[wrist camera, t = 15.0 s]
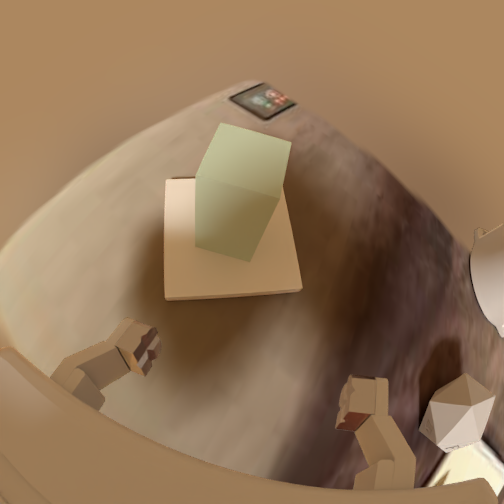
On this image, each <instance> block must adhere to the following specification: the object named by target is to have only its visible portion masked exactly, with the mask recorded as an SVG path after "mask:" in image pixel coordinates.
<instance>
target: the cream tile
mask: <svg viewBox="0 0 504 504" xmlns="http://www.w3.org/2000/svg"><path fill="white" fill-rule="evenodd" d="M195 183H196V178H194V179H167V180H166V190H165V215H164V289H165V299H166V301H174V300H195V299H213V298H229V297H243V296H256V295H269V294H280V293H291V292H299V291H300V290H301V289H303V286H302V281H301V275H300V270H299V264H298V259H297V254H296V249H295V244H294V238H293V233H292V228H291V224H290V219H289V214H288V209H287V204H286V200H285V195H284V190H283V187H282V191H281V196H280V200H279V202H278V204H277V206H276V208H275V210H274V212H273V215H272V217H271V219H270V221H269V223H268V225H267V227H266V229H265V231H264V233H263V236H262V238H261V240H260V242H259V244H258V246H257V248H256V250H255V252H254V254H253V257H252V259H251V261H250V262H248V261H244V260H241V259H237V258H233V257H230V256H226V255H223V254H219V253H216V252H212V251H209V250H205V249H202V248H198V247H195Z"/></svg>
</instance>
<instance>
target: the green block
mask: <svg viewBox="0 0 504 504" xmlns="http://www.w3.org/2000/svg"><path fill="white" fill-rule="evenodd" d="M290 148H291V142H288V141H285V140H282V139H279V138H275V137H272V136H269V135H265V134H262V133H258V132H255V131H251V130H247V129H244V128H240V127H236V126H232V125H228V124H224V123H220V125H219V127H218V129H217V131H216V133H215V135H214V137H213V139H212V141H211V143H210V146H209V148H208V150H207V152H206V154H205V156H204V158H203V160H202V163H201V165H200V167H199V169H198V171H197V173H196V183H195V247H198V248H202V249H205V250H209V251H212V252H216V253H219V254H223V255H226V256H230V257H233V258H237V259H241V260H244V261H248V262H250V261H251V259H252V257H253V254H254V252H255V250H256V248H257V246H258V244H259V242H260V240H261V238H262V236H263V233H264V231H265V229H266V227H267V225H268V223H269V221H270V219H271V217H272V215H273V212H274V210H275V208H276V206H277V204H278V202H279V200H280V196H281V191H282V187H283V182H284V177H285V172H286V167H287V163H288V158H289V153H290Z"/></svg>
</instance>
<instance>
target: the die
mask: <svg viewBox="0 0 504 504" xmlns="http://www.w3.org/2000/svg"><path fill="white" fill-rule="evenodd" d="M494 399H495V395H494V394H492V393H491V392H490V391H489V390H487V389H486V388H485V387H483V386H482V385H481V384H480V383H478V382H477V381H476V380H474V379H473V378H472V377H470V376H469V375H468V374H466V373H464V374H463V375H461V376H460V377H458V378H456V379H455V380H453V381H452V382H450V383H448V384H447V385H445V386H443V387H442V388H440V389H438V390H436V391H435V393H434V395H433V396H432V398H431V400H430V402H429V404H428V407H427V410H426V412H425V415H424V418H423V420H422V423H421V425H420V428H419V431H420V432H422V433H423V434H424V435H425V436H426V437H428V438H429V439H430V440H431V441H432V442H434V443H435V444H436V445H437V446H439V447H440V448H441V449H442V450H444V451H445V452H446V453H447V452H450V451H453V450H456V449H459V448H462V447H465V446H468V445H470V444H473V443H476V442H478V441H480V439H481V436H482V434H483V431H484V429H485V426H486V423H487V420H488V418H489V415H490V412H491V409H492V405H493V402H494Z"/></svg>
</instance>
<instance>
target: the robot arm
mask: <svg viewBox="0 0 504 504" xmlns="http://www.w3.org/2000/svg"><path fill="white" fill-rule="evenodd" d="M470 266H471V276H472V282H473V286H474V290H475V294H476V297H477V300H478V302H479V305H480V307H481V309H482V311H483V313H484V315H485V316H486V317H487V319H488V320H489V321H490V322H491V323H492V324H494V325H495V326H496V328H497V330H498V332H499V334H500V336H501V337H502V338H503V337H504V223H502V224H501V225H499V226H498V227H496V228H494V229H493V230H491V231H487V230H484V229H482V228H477V229H475V230H474V246H473V248H472V252H471V259H470ZM157 333H158V332H157V329H156V328H155V327H152V326H149V325H146V324H144V323H141V322H138V321H136V320H133V319H130V318H128V317H127V318H125V319H123V320H122V322H121V323H120V324H119V325H118V327H117V328H116V329H115V331H114V332H113V333H112V334H111V336H110V337H109V338H108V339H107V341H106V342H105V341H102V342H100V343H98V344H96V345H93V346H91V347H89V348H87V349H84V350H82V351H80V352H78V353H76V354H73V355H71V356H69V357H67V358H65V359H64V360H63V361H62V362H61V364H60V365H59V366H58V368H57V369H56V370H55V371H54V373H53V374H52V375H51V377H50V378H49V377H48V376H47V375H45V374H44V373H43V372H42V371H40V370H39V369H38V368H37V367H36V366H34V365H33V364H32V363H31V362H30V361H28V360H27V359H26V358H25V357H24V356H23V355H22V354H21V353H19V352H18V351H17V350H16V349H15V348H14V347H12V346H7V347H3V348H0V504H498V499H497V496H496V494H495V492H494V491H493V489H492V487H491V486H490V485H489V483H488V482H487V481H486V480H485V479H484V478H477V479H472V480H468V481H463V482H458V483H453V484H447V485H440V486H433V487H425V488H416V489H413V488H414V478H415V466H416V458H415V456H414V454H413V452H412V451H411V449H410V447H409V446H408V444H407V442H406V440H405V439H404V437H403V435H402V434H401V432H400V430H399V428H398V427H397V425H396V423H395V422H394V420H393V418H392V417H391V416H388V380H387V379H386V378H377V377H370V376H361V375H352V374H351V375H350V376H349V378H348V383H347V384H345V385H344V387H343V389H342V392H341V395H340V401H339V406H340V408H341V410H340V412H339V413H338V415H337V421H336V428H335V429H340V430H348V431H355V434H356V437H357V439H358V442H359V444H360V446H361V449H362V451H363V453H364V456H365V458H366V461H367V463H368V466H369V467H368V468H366V469H365V470H363V471H361V472H359V473H358V474H356V477H355V482H354V487H353V490H344V489H331V488H320V487H312V486H304V485H298V484H291V483H286V482H280V481H275V480H270V479H266V478H261V477H257V476H253V475H249V474H245V473H241V472H237V471H234V470H230V469H227V468H224V467H220V466H217V465H214V464H211V463H208V462H205V461H202V460H199V459H197V458H194V457H191V456H189V455H186V454H183V453H181V452H178V451H176V450H173V449H171V448H169V447H166V446H164V445H162V444H160V443H157V442H155V441H153V440H151V439H149V438H147V437H145V436H142V435H140V434H138V433H136V432H134V431H133V430H131V429H129V428H127V427H125V426H123V425H121V424H119V423H118V422H116V421H114V420H112V419H110V418H109V417H107V416H105V415H104V414H102V413H100V412H99V409H100V408H101V406H102V405H103V403H104V401H105V397H104V396H103V395H102V393H101V392H100V391H99V390H101V389H103V388H104V387H106V386H108V385H109V384H111V383H112V382H114V381H116V380H117V379H119V378H121V377H122V376H124V375H125V374H127V373H129V372H130V371H132V372H135V373H137V374H140V375H142V376H146V375H147V373H148V371H149V370H150V368H151V367H152V360H154V359H156V358H157V357H158V355H159V354H160V351H161V340H160V338H159V337H158V336H157Z"/></svg>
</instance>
